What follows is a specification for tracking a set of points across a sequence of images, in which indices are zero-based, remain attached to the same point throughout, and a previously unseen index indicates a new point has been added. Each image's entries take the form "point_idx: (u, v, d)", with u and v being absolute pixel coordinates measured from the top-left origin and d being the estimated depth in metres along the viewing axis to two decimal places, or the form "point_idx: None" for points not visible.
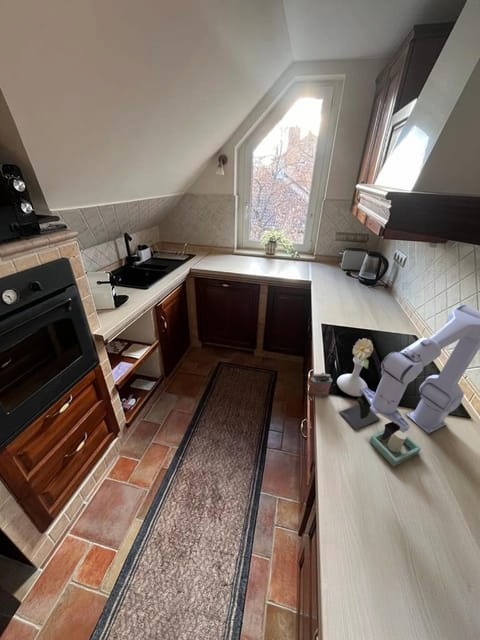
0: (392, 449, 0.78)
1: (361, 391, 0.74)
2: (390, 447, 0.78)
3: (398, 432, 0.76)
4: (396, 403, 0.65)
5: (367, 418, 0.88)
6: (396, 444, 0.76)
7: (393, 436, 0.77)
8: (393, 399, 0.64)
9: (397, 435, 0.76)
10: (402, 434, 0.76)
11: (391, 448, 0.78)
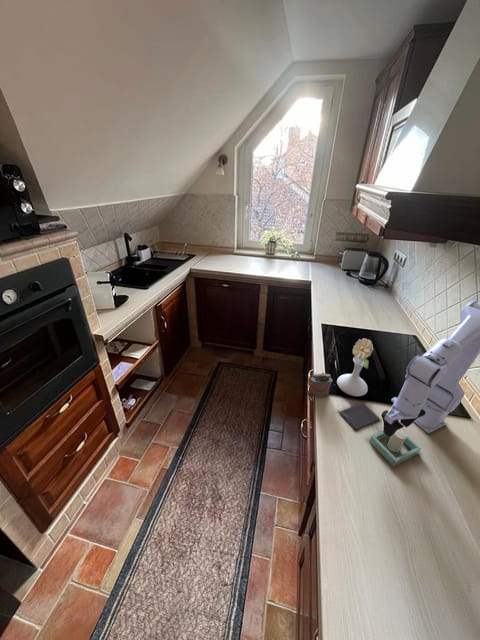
0: (392, 449, 0.78)
1: None
2: (390, 447, 0.78)
3: (398, 432, 0.76)
4: (403, 400, 0.67)
5: (367, 418, 0.88)
6: (396, 444, 0.76)
7: (393, 436, 0.77)
8: (419, 402, 0.65)
9: (397, 435, 0.76)
10: (402, 434, 0.76)
11: (391, 448, 0.78)
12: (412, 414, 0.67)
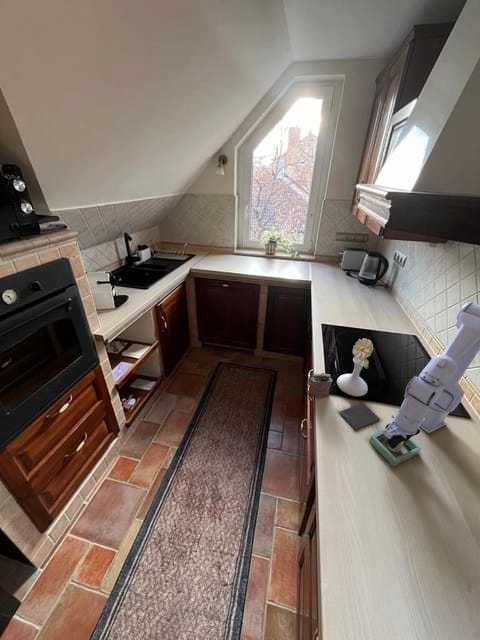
0: (392, 449, 0.78)
1: None
2: (390, 447, 0.78)
3: None
4: (402, 417, 0.71)
5: (367, 418, 0.88)
6: None
7: None
8: (418, 419, 0.69)
9: None
10: None
11: (391, 448, 0.78)
12: (410, 430, 0.71)
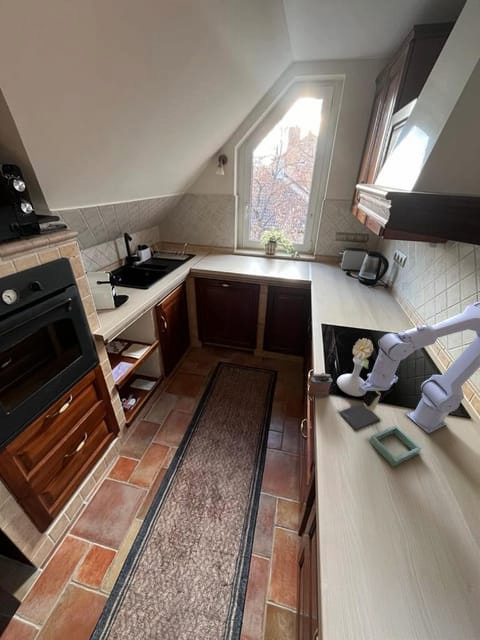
0: (368, 407, 0.83)
1: None
2: (366, 406, 0.83)
3: None
4: (375, 374, 0.76)
5: (367, 418, 0.88)
6: None
7: None
8: (383, 373, 0.74)
9: None
10: (377, 392, 0.81)
11: (367, 406, 0.83)
12: (383, 386, 0.76)
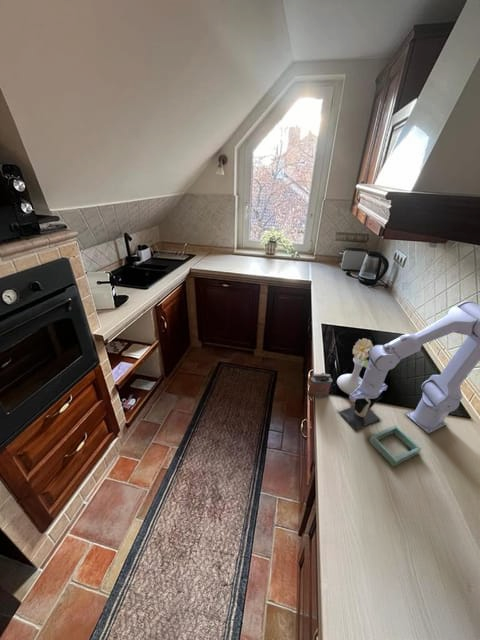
0: (359, 414, 0.87)
1: None
2: (357, 412, 0.87)
3: None
4: (365, 383, 0.80)
5: (367, 418, 0.88)
6: None
7: None
8: (371, 382, 0.78)
9: None
10: (367, 400, 0.85)
11: (358, 413, 0.87)
12: (372, 394, 0.80)
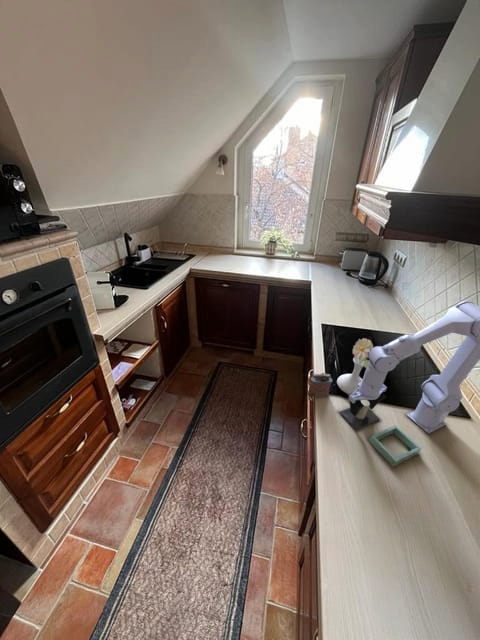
0: (358, 416, 0.87)
1: None
2: (356, 415, 0.88)
3: (363, 401, 0.86)
4: (364, 384, 0.80)
5: (367, 418, 0.88)
6: (361, 411, 0.86)
7: None
8: (371, 384, 0.78)
9: None
10: (366, 402, 0.86)
11: (357, 415, 0.88)
12: (371, 396, 0.80)
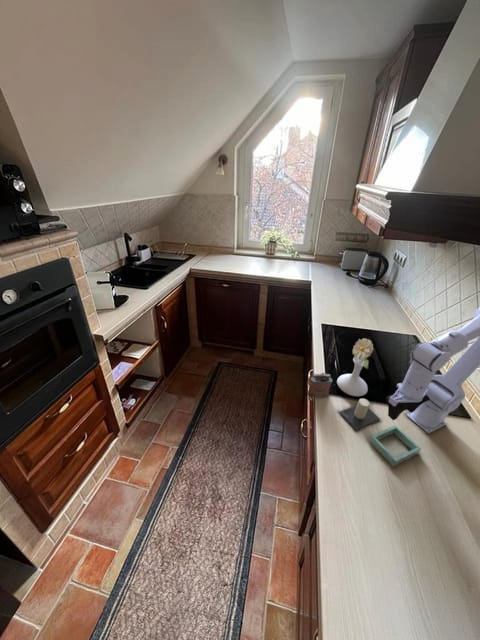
0: (358, 416, 0.87)
1: None
2: (356, 415, 0.88)
3: (363, 401, 0.86)
4: (407, 384, 0.72)
5: (367, 418, 0.88)
6: (361, 411, 0.86)
7: (358, 404, 0.86)
8: (421, 386, 0.69)
9: (361, 403, 0.85)
10: (366, 402, 0.86)
11: (357, 415, 0.88)
12: (415, 398, 0.72)
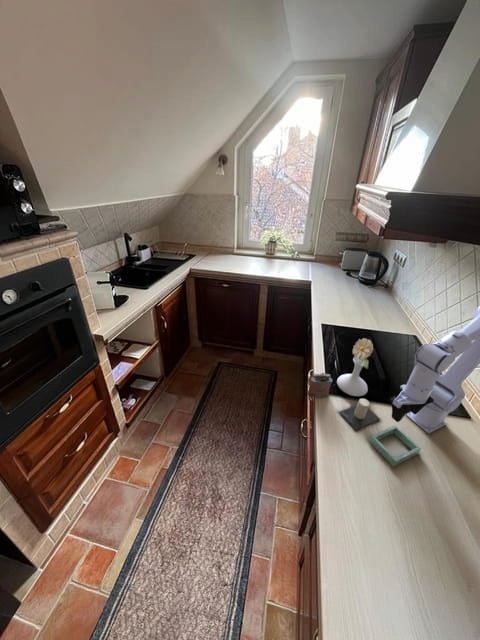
0: (358, 416, 0.87)
1: None
2: (356, 415, 0.88)
3: (363, 401, 0.86)
4: (412, 386, 0.71)
5: (367, 418, 0.88)
6: (361, 411, 0.86)
7: (358, 404, 0.86)
8: (426, 387, 0.69)
9: (361, 403, 0.85)
10: (366, 402, 0.86)
11: (357, 415, 0.88)
12: (420, 399, 0.71)
